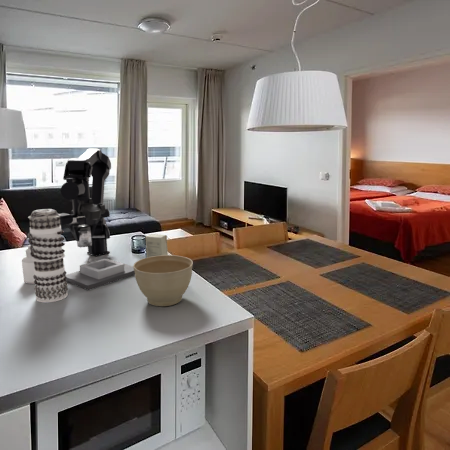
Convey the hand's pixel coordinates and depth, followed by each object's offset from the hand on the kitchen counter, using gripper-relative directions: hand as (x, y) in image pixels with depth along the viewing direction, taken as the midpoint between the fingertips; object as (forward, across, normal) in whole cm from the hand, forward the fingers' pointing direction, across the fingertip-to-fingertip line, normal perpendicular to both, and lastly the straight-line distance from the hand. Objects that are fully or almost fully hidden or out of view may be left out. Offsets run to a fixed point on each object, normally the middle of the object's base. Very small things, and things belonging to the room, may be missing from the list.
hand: (84, 239), depth 133 cm
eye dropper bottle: (+10, -20, -1) cm, 22 cm away
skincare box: (+10, +13, -23) cm, 28 cm away
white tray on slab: (+10, -3, -14) cm, 17 cm away
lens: (+2, 0, 0) cm, 2 cm away
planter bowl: (+10, -4, -44) cm, 45 cm away
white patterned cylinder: (+10, -22, -17) cm, 29 cm away
